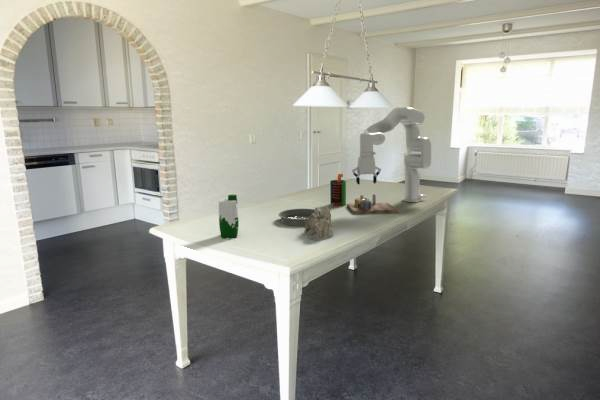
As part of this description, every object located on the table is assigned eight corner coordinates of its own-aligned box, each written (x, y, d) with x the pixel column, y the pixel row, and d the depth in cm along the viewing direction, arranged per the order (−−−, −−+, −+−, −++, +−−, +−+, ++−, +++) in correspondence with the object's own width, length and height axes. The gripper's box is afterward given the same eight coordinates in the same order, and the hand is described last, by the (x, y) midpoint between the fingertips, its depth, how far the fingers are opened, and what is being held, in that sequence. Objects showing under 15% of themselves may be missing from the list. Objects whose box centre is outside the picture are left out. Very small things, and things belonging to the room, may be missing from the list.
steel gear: (369, 207, 248) (369, 200, 247) (372, 209, 241) (372, 202, 241) (358, 207, 248) (358, 200, 247) (361, 210, 241) (361, 202, 240)
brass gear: (367, 203, 258) (367, 197, 257) (370, 206, 249) (370, 200, 248) (353, 204, 257) (353, 198, 256) (356, 207, 249) (356, 200, 248)
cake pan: (269, 221, 227) (269, 213, 226) (303, 214, 243) (303, 206, 242) (298, 229, 209) (298, 221, 208) (332, 221, 224) (332, 213, 224)
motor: (328, 205, 265) (328, 174, 261) (333, 202, 273) (334, 172, 269) (343, 206, 260) (343, 175, 256) (348, 204, 268) (348, 173, 264)
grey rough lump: (313, 228, 210) (312, 200, 205) (339, 235, 199) (339, 205, 195) (293, 237, 198) (292, 207, 194) (320, 244, 188) (320, 213, 184)
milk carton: (238, 238, 194) (236, 196, 190) (219, 239, 194) (216, 197, 190) (239, 233, 203) (238, 193, 199) (221, 233, 202) (219, 194, 198)
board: (387, 205, 261) (387, 192, 259) (397, 212, 242) (397, 198, 240) (346, 207, 259) (347, 193, 257) (353, 214, 239) (354, 200, 238)
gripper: (379, 153, 243) (379, 181, 246) (350, 154, 241) (350, 183, 245) (382, 154, 235) (382, 184, 239) (353, 155, 234) (353, 185, 238)
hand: (366, 183), depth 242 cm, fingers open, 9 cm apart
